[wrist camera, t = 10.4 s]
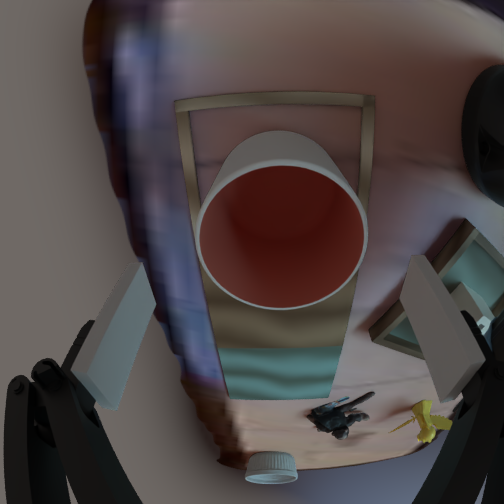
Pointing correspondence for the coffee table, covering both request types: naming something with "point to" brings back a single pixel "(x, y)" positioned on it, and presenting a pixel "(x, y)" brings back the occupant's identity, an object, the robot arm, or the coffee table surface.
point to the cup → (280, 224)
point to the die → (473, 306)
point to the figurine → (427, 421)
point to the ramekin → (271, 468)
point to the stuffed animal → (338, 416)
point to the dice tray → (449, 286)
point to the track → (266, 320)
